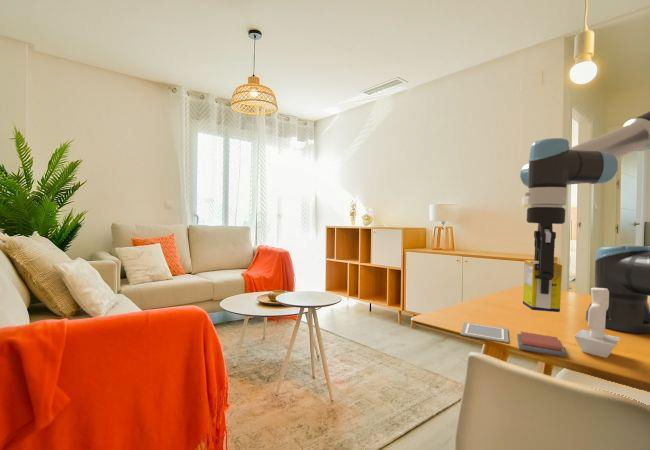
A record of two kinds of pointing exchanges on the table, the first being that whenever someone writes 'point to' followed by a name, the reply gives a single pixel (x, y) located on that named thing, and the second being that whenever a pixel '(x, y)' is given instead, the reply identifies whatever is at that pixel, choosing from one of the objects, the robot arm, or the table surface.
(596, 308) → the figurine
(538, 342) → the ink pad
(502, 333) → the marked card
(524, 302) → the supplement box
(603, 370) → the table surface
